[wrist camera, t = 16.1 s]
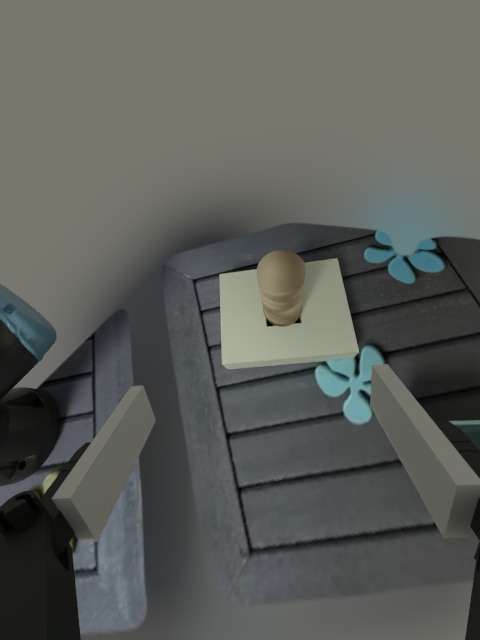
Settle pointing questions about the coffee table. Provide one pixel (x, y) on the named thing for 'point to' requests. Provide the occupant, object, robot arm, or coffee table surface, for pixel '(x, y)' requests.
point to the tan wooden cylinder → (281, 286)
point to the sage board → (294, 340)
